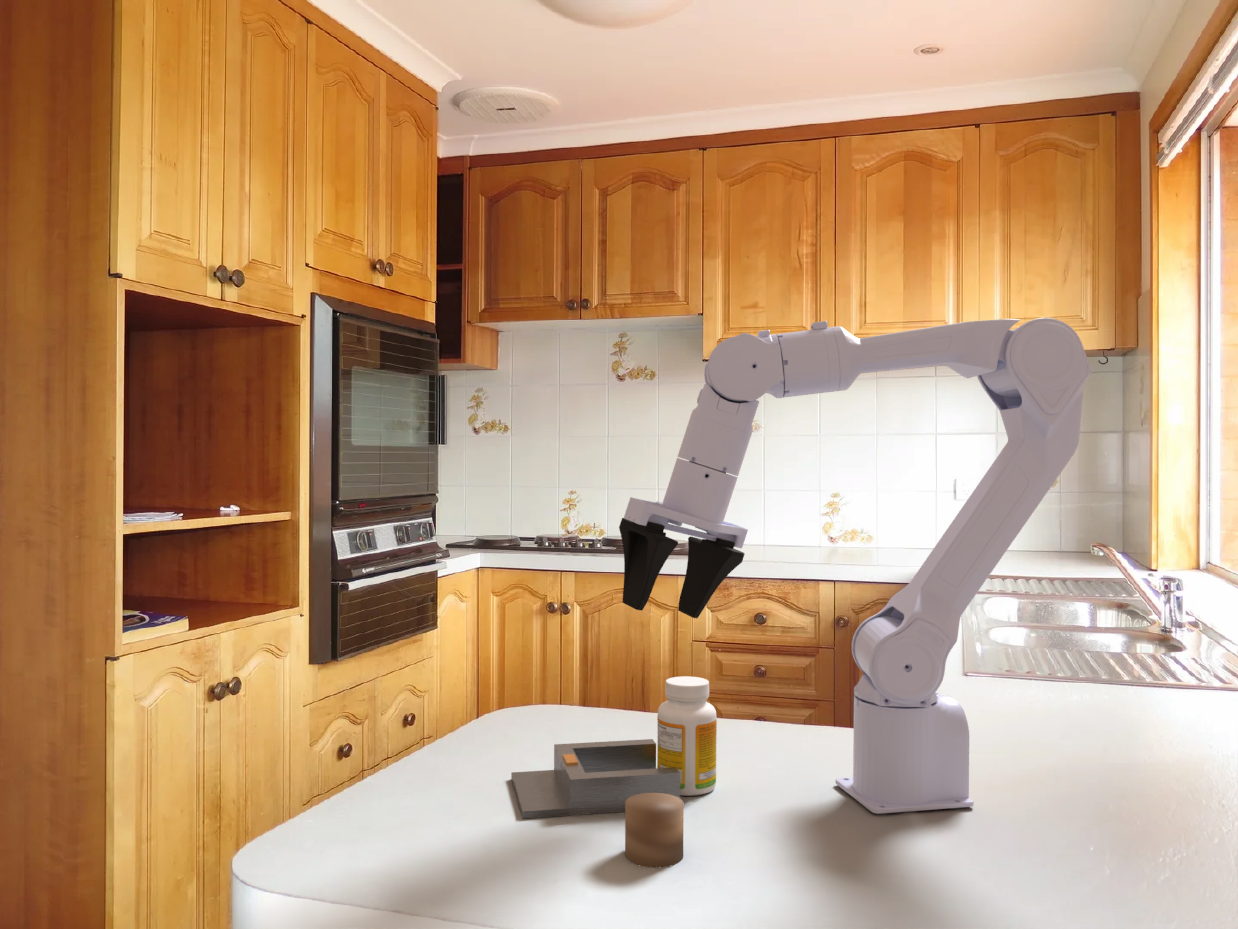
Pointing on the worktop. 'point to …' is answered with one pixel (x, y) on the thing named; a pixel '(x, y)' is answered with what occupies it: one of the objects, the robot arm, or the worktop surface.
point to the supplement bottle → (688, 734)
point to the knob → (654, 829)
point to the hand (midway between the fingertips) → (660, 610)
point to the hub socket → (593, 779)
